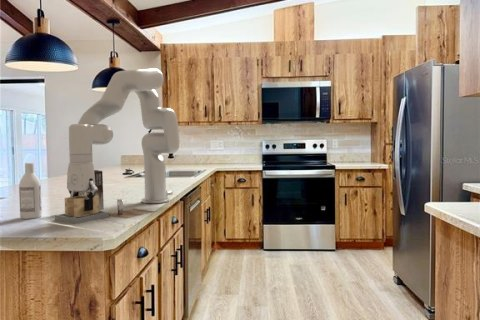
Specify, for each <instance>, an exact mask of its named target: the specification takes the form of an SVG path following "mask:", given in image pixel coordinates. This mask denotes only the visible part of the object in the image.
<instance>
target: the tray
mask: <svg viewBox="0 0 480 320" xmlns="http://www.w3.org/2000/svg"><path fill="white" fill-rule="evenodd" d="M109 214H110V212H109V211H105V210H104V211H103V210H99V212H98V213H93V214H89V215H84V216H79V217H75V216H69V215H65V213H61V214H55V215H54V220H55V221H60V222H66V223H71V224H80V223H85V222H90V221H93V220H99V219H103V218H108V217H110V216H109Z"/></svg>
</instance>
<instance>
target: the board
mask: <svg viewBox="0 0 480 320" xmlns="http://www.w3.org/2000/svg"><path fill="white" fill-rule="evenodd" d="M155 212H157V211H155V210H147V209H142V208H141V209H139V208H131V209H127V210H123V215H118V211H116V212H112V213H111V212H109V217H114V218H121V219H130V218H135V217H139V216H143V215H147V214H151V213H152V214H153V213H155Z"/></svg>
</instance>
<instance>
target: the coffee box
mask: <svg viewBox="0 0 480 320" xmlns="http://www.w3.org/2000/svg"><path fill="white" fill-rule="evenodd" d="M94 173H95V185H96V187H97V188H98V191H97V192H96V194H95V196H99V211H101V210H104V209H105V208H104V207H105V203H104V185H103V184H104V182H103V179H104V178H103V170H98V169H94ZM82 195H84V192H80V194H79V196H82ZM88 195H89V193H88Z"/></svg>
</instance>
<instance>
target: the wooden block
mask: <svg viewBox="0 0 480 320" xmlns="http://www.w3.org/2000/svg"><path fill="white" fill-rule="evenodd" d="M84 200H86V199H85V195H82V196H75V197H70V196H69V197H64V214H65V215H69V216H74V218H79V217H84V216H89V215H92V214H93V213H98V212H99V211H100V210H99V196H94V199H93V210H90V211H85V208H84Z"/></svg>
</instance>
